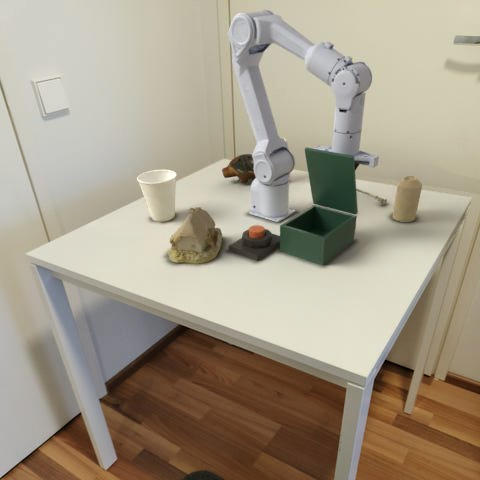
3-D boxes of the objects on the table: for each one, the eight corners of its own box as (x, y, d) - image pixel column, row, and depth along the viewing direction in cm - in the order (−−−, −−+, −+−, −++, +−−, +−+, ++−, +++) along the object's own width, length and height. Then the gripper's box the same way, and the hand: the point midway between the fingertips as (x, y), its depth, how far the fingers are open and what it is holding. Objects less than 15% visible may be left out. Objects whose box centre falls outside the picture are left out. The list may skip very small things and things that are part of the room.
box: (322, 265, 95) (324, 238, 91) (279, 251, 101) (279, 225, 97) (353, 241, 103) (356, 215, 99) (312, 229, 109) (313, 204, 105)
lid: (352, 157, 88) (354, 155, 88) (304, 149, 94) (306, 147, 94) (356, 214, 99) (357, 212, 99) (313, 203, 105) (314, 202, 105)
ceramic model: (208, 268, 96) (203, 224, 90) (161, 261, 99) (154, 219, 93) (230, 238, 107) (227, 198, 101) (187, 233, 110) (182, 194, 104)
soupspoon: (330, 183, 135) (314, 190, 132) (330, 172, 133) (314, 179, 130) (392, 201, 120) (376, 209, 117) (393, 189, 118) (377, 197, 115)
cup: (137, 222, 117) (129, 181, 110) (156, 208, 124) (150, 167, 117) (170, 227, 113) (164, 184, 107) (188, 212, 121) (183, 171, 114)
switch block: (229, 251, 102) (228, 238, 100) (257, 234, 108) (257, 221, 106) (256, 261, 98) (256, 248, 96) (284, 242, 104) (284, 230, 102)
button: (245, 236, 101) (245, 229, 100) (255, 230, 103) (255, 223, 102) (258, 241, 99) (258, 233, 98) (268, 234, 101) (268, 227, 100)
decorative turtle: (276, 183, 135) (275, 156, 129) (226, 191, 133) (223, 165, 128) (268, 170, 142) (267, 145, 137) (221, 179, 141) (218, 153, 136)
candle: (416, 222, 109) (424, 182, 103) (392, 221, 110) (399, 181, 104) (414, 213, 114) (422, 174, 108) (391, 212, 115) (398, 173, 109)
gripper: (388, 130, 92) (379, 194, 101) (326, 121, 100) (322, 181, 108) (373, 138, 88) (364, 204, 96) (309, 129, 96) (306, 191, 104)
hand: (341, 193), depth 102 cm, fingers closed
